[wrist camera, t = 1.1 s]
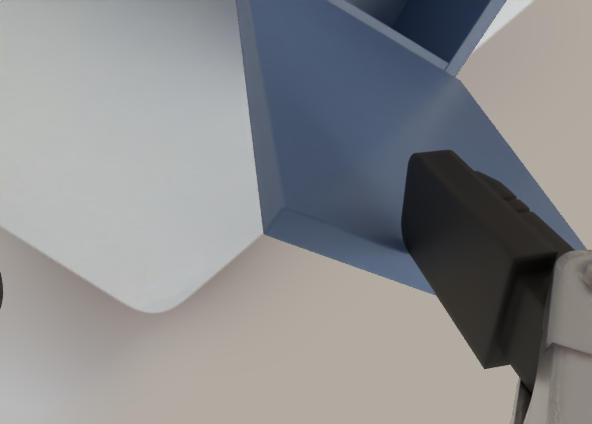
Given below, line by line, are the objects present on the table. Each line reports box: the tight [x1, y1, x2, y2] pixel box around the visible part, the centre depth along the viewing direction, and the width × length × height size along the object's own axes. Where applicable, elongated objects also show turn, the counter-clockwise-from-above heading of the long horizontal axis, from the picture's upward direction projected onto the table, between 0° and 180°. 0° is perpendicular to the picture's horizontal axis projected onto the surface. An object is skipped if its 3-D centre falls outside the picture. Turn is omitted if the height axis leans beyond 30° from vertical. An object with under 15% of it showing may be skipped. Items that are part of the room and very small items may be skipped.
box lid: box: [236, 0, 587, 296], centre depth 19 cm, size 16×13×1 cm
